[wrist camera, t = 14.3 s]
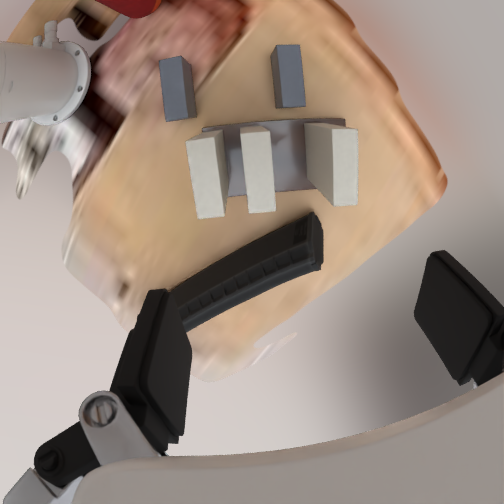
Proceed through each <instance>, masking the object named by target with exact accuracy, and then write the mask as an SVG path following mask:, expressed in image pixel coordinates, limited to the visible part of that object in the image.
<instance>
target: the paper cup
mask: <svg viewBox="0 0 504 504" xmlns="http://www.w3.org/2000/svg"><path fill="white" fill-rule="evenodd" d="M95 1H97V2H99V3H101V4H104V5H106V6H108V7H110V8H111V9H113V10H115V11H117V12H119V13H121V14H123V15H125V16H128V17H130V18H142V17H145V16H147V15H149V14H151V13H152V12H154V11H155V10H156V9H157V8H158V6H159V5H160V3H161V0H95Z"/></svg>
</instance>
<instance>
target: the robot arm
mask: <svg viewBox="0 0 504 504" xmlns="http://www.w3.org/2000/svg"><path fill="white" fill-rule="evenodd" d="M56 32H57V21H56V20H52V21H49V22H47V23H46V24H45V28H44V35H45V41H44V42H43V43H42V36H41V35H39V36H36V37H34V38H33V45H27V44H20V43H12V42H2V41H0V124H1V123H5V122H10V121H15V120H20V119H26V118H31V119H32V120H33V121H34V122H36V123H37V124H40V125H54V124H57V123H60V122H62V121H64V120H66V119H67V118H68V117H70V116H71V115H72V114H73V113H74V112H75V111H76V109H77V108H78V107H79V106H80V104H81V102H82V101H83V99H84V97H85V95H86V93H87V90H88V87H89V83H90V77H91V64H90V59H89V57H88V54H87V52H86V51H85V50H84V48H82V47H81V46H80V45H78V44H76V43H73V42H69V41H61V42H59V39H58V38H56ZM41 44H42V47H41ZM82 88H83V89H82ZM414 317H415V320H416V321H417V323H418V324H419V326H420V327H421V329H422V330H423V331H424V333H425V335H426V336H427V338H428V339H429V341H430V342H431V344H432V345H433V347H434V348H435V350H436V352H437V353H438V355H439V356H440V358H441V360H442V361H443V363H444V364H445V366H446V368H447V369H448V371H449V373H450V375H451V376H452V378H453V379H455V380H457V382H458V384H459V385H460V386H461V385H463V384H465V383H467V382H469V381H470V380H471V378H473V379H474V385H473V390H471V391H469V392H467V393H465V394H463V395H461V396H459V397H457V398H455V399H453V400H450V401H449V402H446V403H444V404H442V405H439V406H437V407H435V408H432V409H430V410H428V411H425V412H423V413H420V414H418V415H416V416H413V417H410V418H407V419H404V420H402V421H399V422H397V423H393V424H390V425H387V426H384V427H381V428H378V429H374V430H371V431H368V432H364V433H360V434H357V435H353V436H349V437H345V438H341V439H337V440H332V441H328V442H324V443H318V444H313V445H308V446H302V447H296V448H290V449H283V450H275V451H266V452H257V453H246V454H234V455H213V456H169V455H168V454H167V453H166V452H165V451H166V450H167V449H168V443H172V444H178V441H179V436H183V434H184V428H185V417H186V407H187V396H188V388H189V378H190V370H191V362H192V348H191V345H190V342H189V339H188V337H187V334H186V331H185V328H184V326H183V323H182V320H181V317H180V314H179V311H178V308H177V305H176V302H175V299H174V296H173V294H172V293H171V292H167V290H166V289H156V290H149V291H148V293H147V296H146V298H145V301H144V304H143V306H142V309H141V311H140V314H139V317H138V319H137V322H136V325H135V328H134V329H132V330H131V331H130V332H129V335H128V337H127V340H126V343H125V346H124V348H123V351H122V354H121V357H120V360H119V363H118V366H117V369H116V372H115V375H114V378H113V381H112V384H111V387H110V391H97V392H95V393H93V394H91V395H89V396H88V397H87V398H86V399H85V400H84V401H83V402H82V404H81V406H80V409H79V420H80V421H79V422H77V423H76V424H74V425H73V426H71V427H69V428H68V429H66V430H65V431H63V432H62V433H60V434H58V435H57V436H55V437H54V438H52V439H50V440H49V441H47V442H45V443H44V444H43V445H41V446H40V447H39V448H38V450H37V451H36V454H35V457H34V466H35V468H34V469H32V468H29V469H28V470H27V471H26V472H25V473H24V475H23V476H22V477H21V478H20V479H19V481H18V482H17V483H16V484H15V485H14V487H13V488H12V489H11V490H10V491H9V492H8V494H7V495H6V496H5V498H4V500H3V504H504V307H503V306H502V305H501V304H500V303H499V302H498V301H497V299H496V298H495V297H494V296H493V295H492V294H491V293H490V292H489V291H488V290H487V289H486V288H485V287H484V286H483V285H482V284H481V283H480V282H479V281H478V280H477V279H476V278H475V277H474V276H473V275H472V274H471V273H470V272H468V270H466V268H464V267H463V266H462V265H461V264H460V263H459V262H458V261H457V260H456V259H455V258H454V257H452V256H451V255H450V254H449V253H448V252H447V251H445V250H441V251H435V252H432V253H431V254H430V256H429V257H428V258H427V262H426V266H425V271H424V275H423V279H422V284H421V288H420V292H419V295H418V299H417V303H416V306H415V310H414Z"/></svg>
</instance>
